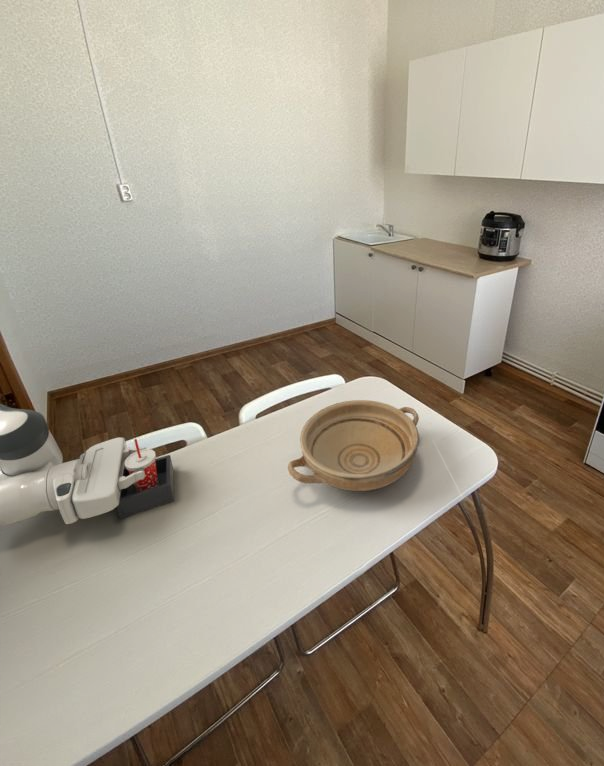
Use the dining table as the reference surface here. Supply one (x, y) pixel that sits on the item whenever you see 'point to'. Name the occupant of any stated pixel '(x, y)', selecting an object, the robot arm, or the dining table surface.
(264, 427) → the dining table surface
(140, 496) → the case
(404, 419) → the ceramic bowl
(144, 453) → the beverage cup
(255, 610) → the dining table surface
